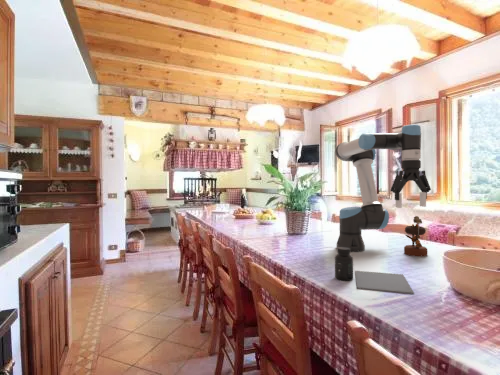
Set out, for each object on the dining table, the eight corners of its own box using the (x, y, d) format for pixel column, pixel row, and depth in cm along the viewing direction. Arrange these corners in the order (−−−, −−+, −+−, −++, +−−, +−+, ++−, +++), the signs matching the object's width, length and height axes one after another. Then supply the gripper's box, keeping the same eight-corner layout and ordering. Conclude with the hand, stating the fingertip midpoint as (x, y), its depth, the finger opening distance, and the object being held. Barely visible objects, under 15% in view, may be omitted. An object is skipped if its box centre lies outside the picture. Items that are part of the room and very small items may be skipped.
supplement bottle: (331, 277, 115) (330, 247, 115) (343, 274, 118) (343, 245, 118) (344, 282, 109) (344, 251, 109) (357, 279, 112) (356, 248, 112)
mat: (357, 288, 103) (357, 287, 103) (355, 271, 122) (355, 270, 122) (414, 294, 97) (414, 292, 97) (402, 275, 116) (402, 274, 116)
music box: (435, 257, 143) (431, 217, 142) (412, 259, 143) (409, 219, 143) (418, 249, 158) (414, 213, 157) (397, 251, 158) (394, 215, 158)
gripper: (394, 159, 123) (394, 208, 123) (440, 159, 130) (439, 206, 130) (381, 160, 130) (381, 207, 130) (425, 160, 137) (425, 205, 137)
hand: (410, 207), depth 130 cm, fingers open, 13 cm apart
